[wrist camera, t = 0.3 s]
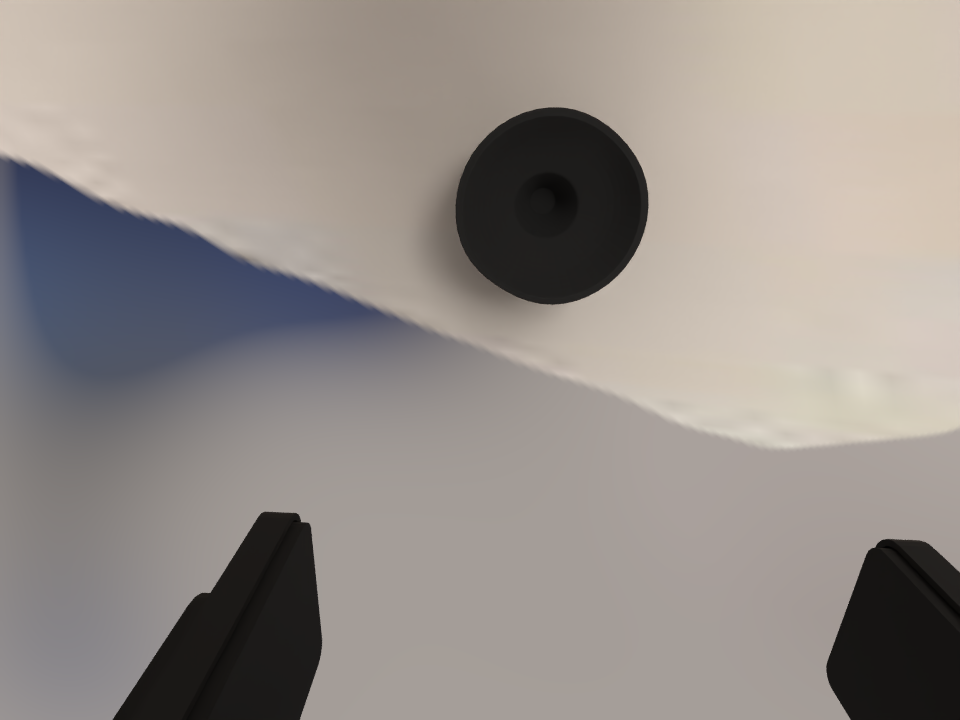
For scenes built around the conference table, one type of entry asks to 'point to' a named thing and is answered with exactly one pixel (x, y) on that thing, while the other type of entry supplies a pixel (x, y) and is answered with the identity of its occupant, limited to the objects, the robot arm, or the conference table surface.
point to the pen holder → (552, 205)
